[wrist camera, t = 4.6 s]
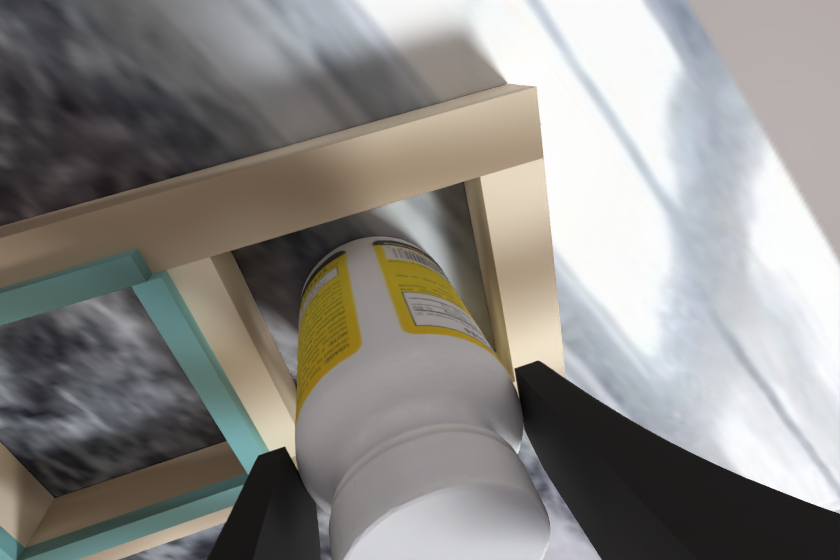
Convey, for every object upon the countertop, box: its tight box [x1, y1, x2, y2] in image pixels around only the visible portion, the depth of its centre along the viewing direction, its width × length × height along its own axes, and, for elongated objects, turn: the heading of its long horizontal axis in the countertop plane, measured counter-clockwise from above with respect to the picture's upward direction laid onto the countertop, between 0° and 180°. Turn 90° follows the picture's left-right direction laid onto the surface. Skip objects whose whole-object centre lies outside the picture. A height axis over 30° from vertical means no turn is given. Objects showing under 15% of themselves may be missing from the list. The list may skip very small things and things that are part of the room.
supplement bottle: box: [295, 236, 550, 560], centre depth 12 cm, size 5×5×10 cm
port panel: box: [0, 84, 566, 560], centre depth 15 cm, size 12×22×2 cm, turn 104°
